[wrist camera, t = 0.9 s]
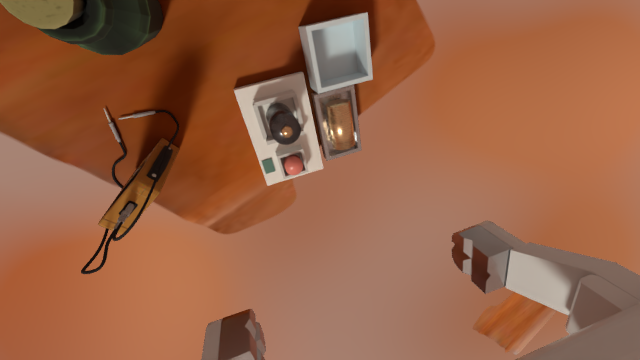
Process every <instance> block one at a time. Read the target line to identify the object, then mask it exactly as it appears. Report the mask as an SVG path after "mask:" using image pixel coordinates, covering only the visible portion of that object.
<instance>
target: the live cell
mask: <svg viewBox="0 0 640 360" xmlns="http://www.w3.org/2000/svg"><path fill="white" fill-rule="evenodd" d="M325 107H326V113H327V119H328V124H329V130H330V135H331V141H332V147H333V148H334V149H336V150H345V149H349V148H351V147H353V146H354V145H355V136H354V129H353V121H352V113H351V105H350V100H349V99H336V100H332V101H330V102H328V103H326V104H325Z"/></svg>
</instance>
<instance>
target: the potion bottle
mask: <svg viewBox="0 0 640 360" xmlns="http://www.w3.org/2000/svg"><path fill="white" fill-rule="evenodd" d="M0 2H1V4H2V5H3V6H4V7H5V8H6V9H7V10H8V11H9V13H11V14H12V15H14V16H15V17H17V18H18V19H20V20H21V21H23V22H24V23H26V24H29V25H32V26H35V27H36V28H38V29H39V30H41V31H42V32H44V33H45V34H47V35H49V36H51V37H53V38H56V39H58V40H61V41H64V42H67V43H70V44H77V45H79V46H80V47H82V48H85V49H88V50H91V51H93V52H96V53H99V54H102V55H123V54H125V53H127V52H130V51H132V50H134V49H136V48H138V47H140V46H142V45H143V44H145V43H146V42H148V41H150V40H151V39H153V38H155V37H156V35H157V34H158V33H159V31H160V30H161V28H162V22H163V14H162V9H161V5H160V3H159V1H158V0H0Z"/></svg>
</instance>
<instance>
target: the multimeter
mask: <svg viewBox="0 0 640 360" xmlns="http://www.w3.org/2000/svg"><path fill="white" fill-rule="evenodd" d="M104 111H105V114H106V116H107V118H108V120H109V122H110V123H108V124H109V125H110V127H111V129H112V131H113V133H114V135H115V138H116V139H117V141H118V142H119V144H120V145H121V148H122V150H123V152H124V156H123V157H122V158H121V159H119V160H118V161H116V162H115V163H114V165H113V167H112V177H113V179H114V181H115V182H116V183H117V184H118V185H119V186H120V187H121V188H122V190H121V191H120V193H119V194H118V196H117V197H116V199H115V200H114V201H113V203H112V204H111V206H110V207H109V209H108V210H107V211H106V213H105V214H104V216H103V217H102V219H101V220H100V221H99V223H98V225H100V226H102V227H105V228H106V231H105V234H104V237H103V239H102V242H101V244H100V246H99V248H98V250H97V251H96V253H95V254H94V256H93V257H92V258H91V259H90V261H89V262H88V263H87V264H86V265H85V266H84V268H83V269H82V270H81V273H83V274H90V273H94V272H96V271H98V270H100V269H101V268H102V267H103V265H104V263H105V261H106V258H107V251H108V246H109V243H110V241H111V239H113V240H114V241H118V240H120V239H121V238H122V237H124V236H125V235H126V234H127V233H128V232H129V231H130V230H131V228H132V227H133V226H134V224H135V223H136V222H137V220H138V219H139V217H140V216H141V214H142V213H143V212H144V211H145V210H146V208H147V207H148V206H149V205H150V204H151V203H152V202H153V200H154V199H155V198H156V197H157V196H158V194H159V193H160V192H161V189H162V187H163V185H164V183H165V181H166V178H167V176H168V174H169V172H170V170H171V167H172V165H173V163H174V161H175V159H176V156H177V154H178V152H179V150H180V149H179V148H178V147H176V146H175V145H173V144H172V142H173V140H174V139H175V137H176V135H177V133H178V130H179V124H178V122H177V120H176V119H175V117H174V116H173V115H172V114H171V113H170V112H168V111H165V110H159V111H148V112H143V113H138V114H133V116H128V117H123V118H119V119H125V118H130V117H134V118H137V117H142V116H147V115H152V114H155V113H158V112H166V113H168V114H169V115H171V117H172V118H173V119H174V120H175V122H176V124H177V130H176V133H175V134H174V136H173V138H172V139H171V141H170V142H168V141H167V140H165V139H164V138H162V139H161V140H160V141H159V142H158V143H157V145H156V146H155V147H154V148H153V150H152V151H151V152H150V153H149V154H148V156H147V157H146V158H145V159H144V161H143V162H142V163H141V164H140V165H139V167H138V168H137V169H136V170H135V172H134V173H133V174H132V176H131V177H130V179H129V180H128V182H127V183H126V184H125V186H124V187H122V186H121V185H120V184H119V183H118V182H117V180H116V179H115V176H114V168H115V165H116V164H117V163H118V162H120V161H121V160H123V159H124V158H125V157H126V151H125V149H124V147H123V145H122V143H121V139H120V136H119V134H118V132H117V130H116V128H115V126H114V122H111V120H110V118H109V116H108V114H107V112H106V110H105V109H104ZM109 229H110V230H112V231H113V232H112V234H111V235H110V237H109V238H108V240H107V242H106V245H105V250H104V256H103V260H102V263H101V265H100V266H99V267H98V268H96V269H94V270H91V271H85V270H86V268H87V267H88V266H89V265H90V264H91V263H92V261H93V260H94V259H95V257H96V256H97V255H98V253H99V252H100V250H101V248H102V246H103V244H104V242H105V239H106V236H107V233H108V230H109ZM117 233H119V234H122V235H121V236H119V237H118V238H116V234H117Z"/></svg>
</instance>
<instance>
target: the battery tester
mask: <svg viewBox="0 0 640 360" xmlns="http://www.w3.org/2000/svg"><path fill="white" fill-rule="evenodd" d="M234 92H235V95H236V98H237V101H238V104H239V107H240V109H241V112H242V115H243V118H244V121H245V123H246V126H247V129H248V132H249V135H250V137H251V140H252V143H253V146H254V149H255V152H256V154H257V157H258V160H259V163H260V166H261V168H262V171H263V174H264V177H265V180H266V182H267V185H271V184H275V183H278V182H281V181H284V180H288V179H291V178H294V177H297V176H300V175H304V174H307V173H310V172H313V171H317V170H320V169H323V164H322V160H321V154H320V150H319V145H318V140H317V135H316V131H315V126H314V121H313V116H312V112H311V107H310V102H309V97H308V92H307V88H306V83H305V78H304V73H303V72H297V73H293V74H289V75H285V76H281V77H277V78H273V79H269V80H265V81H261V82H257V83H253V84H249V85H246V86H242V87H238V88H234ZM275 103H283V104H285V105H286V106H288V107H289V109H290V110H291V112H292V113H293V115H294V116H295V118H296V119H297V121H298V122H299V124H300V127H301V134H300V136H299V138H298V139H297V140H296V141H295V142H294V143H292V144H289V145H283V144H280V143H278V142H276V141H275V140H274V138H273V136H272V134H271V131H270V128H269V125H268V122H267V119H266V112H267V109H268V108H269V107H270V106H271V105H272V104H275ZM292 154H295V155H297V156H299V157H300V159H301V161H302V163H303V170H302V171H301V172H300V173H299V174H297V175H290V174H288V173H287V172H286V169H285V166H284V159H285V158H286V157H287V156H289V155H292Z"/></svg>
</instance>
